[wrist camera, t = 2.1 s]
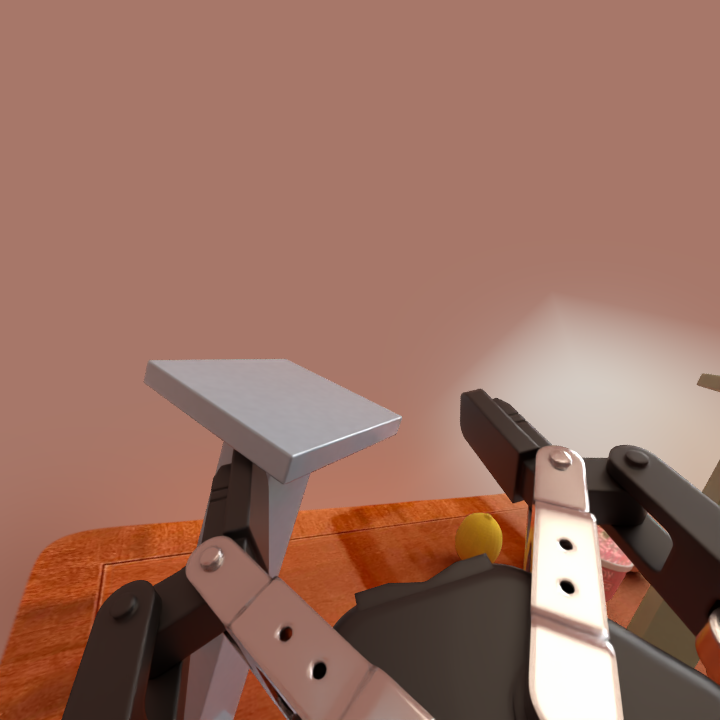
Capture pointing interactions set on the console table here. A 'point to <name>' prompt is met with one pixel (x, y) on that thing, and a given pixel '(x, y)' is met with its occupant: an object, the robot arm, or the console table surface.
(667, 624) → the tall stand
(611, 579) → the container
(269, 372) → the low stand
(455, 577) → the robot arm
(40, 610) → the console table surface
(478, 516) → the lemon
